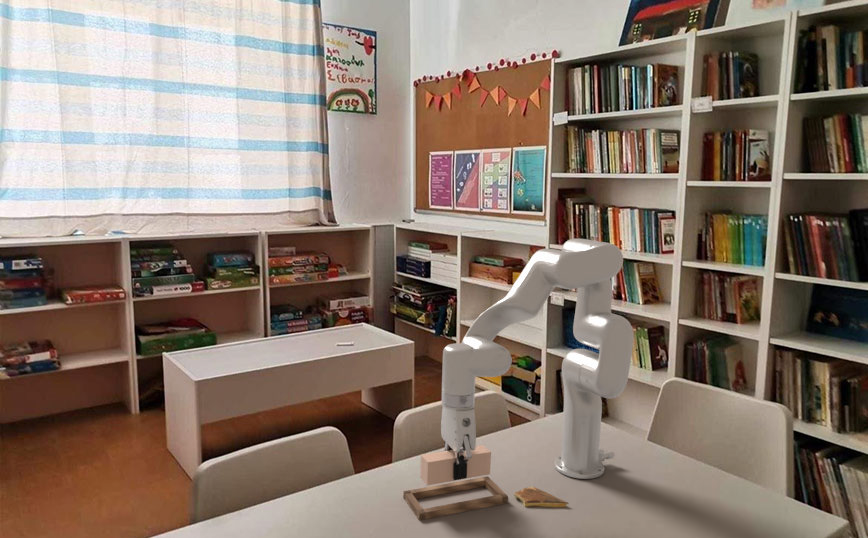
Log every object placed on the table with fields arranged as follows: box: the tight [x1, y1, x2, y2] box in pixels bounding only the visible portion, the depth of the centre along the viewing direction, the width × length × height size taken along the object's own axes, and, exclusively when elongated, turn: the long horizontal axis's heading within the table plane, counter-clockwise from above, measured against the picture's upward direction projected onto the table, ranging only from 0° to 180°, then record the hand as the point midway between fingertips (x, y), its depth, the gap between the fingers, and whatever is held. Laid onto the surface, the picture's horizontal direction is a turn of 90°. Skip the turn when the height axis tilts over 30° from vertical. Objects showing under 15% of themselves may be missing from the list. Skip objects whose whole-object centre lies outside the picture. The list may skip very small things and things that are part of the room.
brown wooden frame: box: [402, 475, 509, 521], centre depth 149 cm, size 22×10×2 cm, turn 112°
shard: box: [513, 486, 569, 508], centre depth 149 cm, size 11×8×2 cm
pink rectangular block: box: [419, 444, 492, 486], centre depth 148 cm, size 16×4×6 cm, turn 114°
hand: (455, 473), depth 148 cm, fingers closed on pink rectangular block, 4 cm apart
